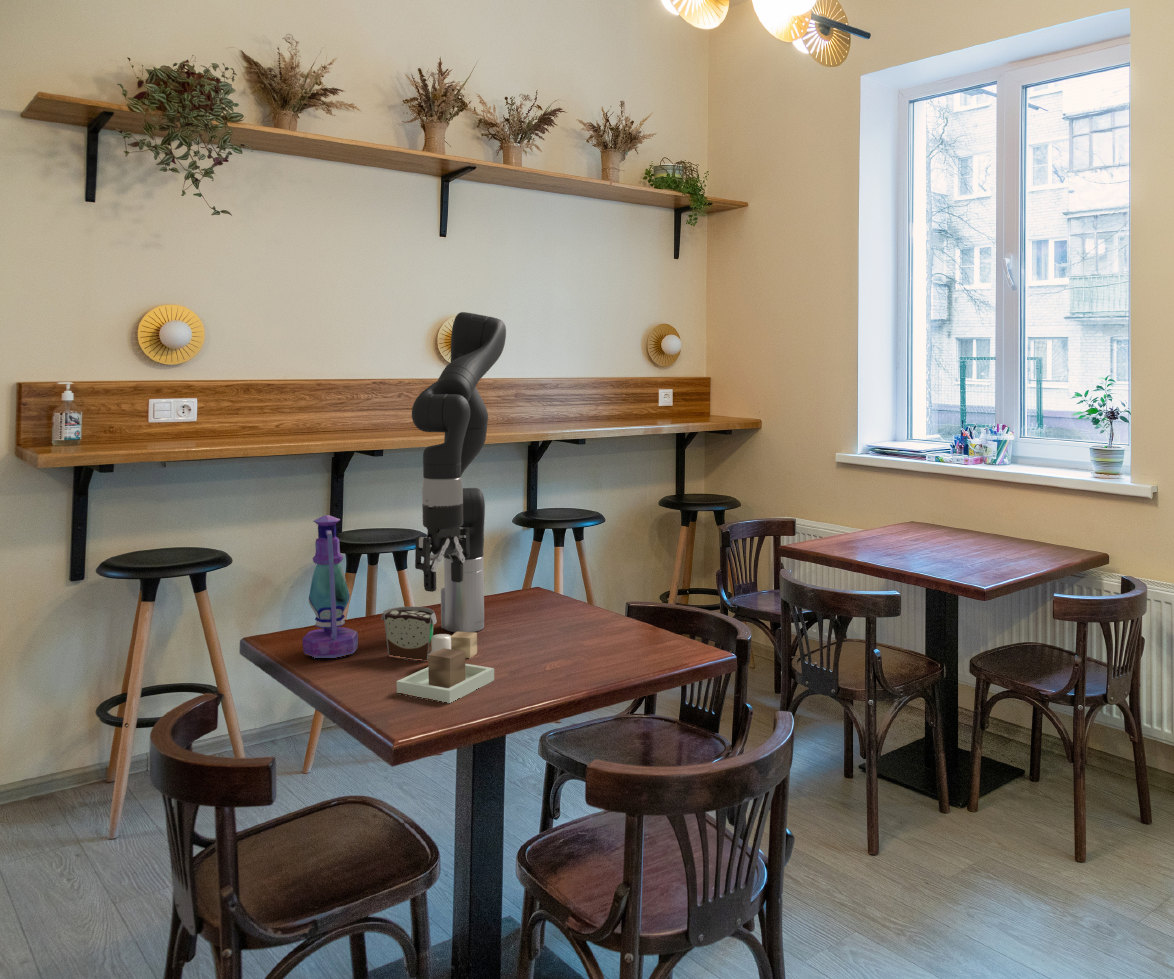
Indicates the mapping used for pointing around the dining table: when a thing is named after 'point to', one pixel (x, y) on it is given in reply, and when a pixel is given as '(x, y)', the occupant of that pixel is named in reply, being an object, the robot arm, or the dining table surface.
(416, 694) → the tray
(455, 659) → the walnut block
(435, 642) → the ceramic shaker
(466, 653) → the oak cube
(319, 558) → the lantern
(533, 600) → the dining table surface
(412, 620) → the food container
